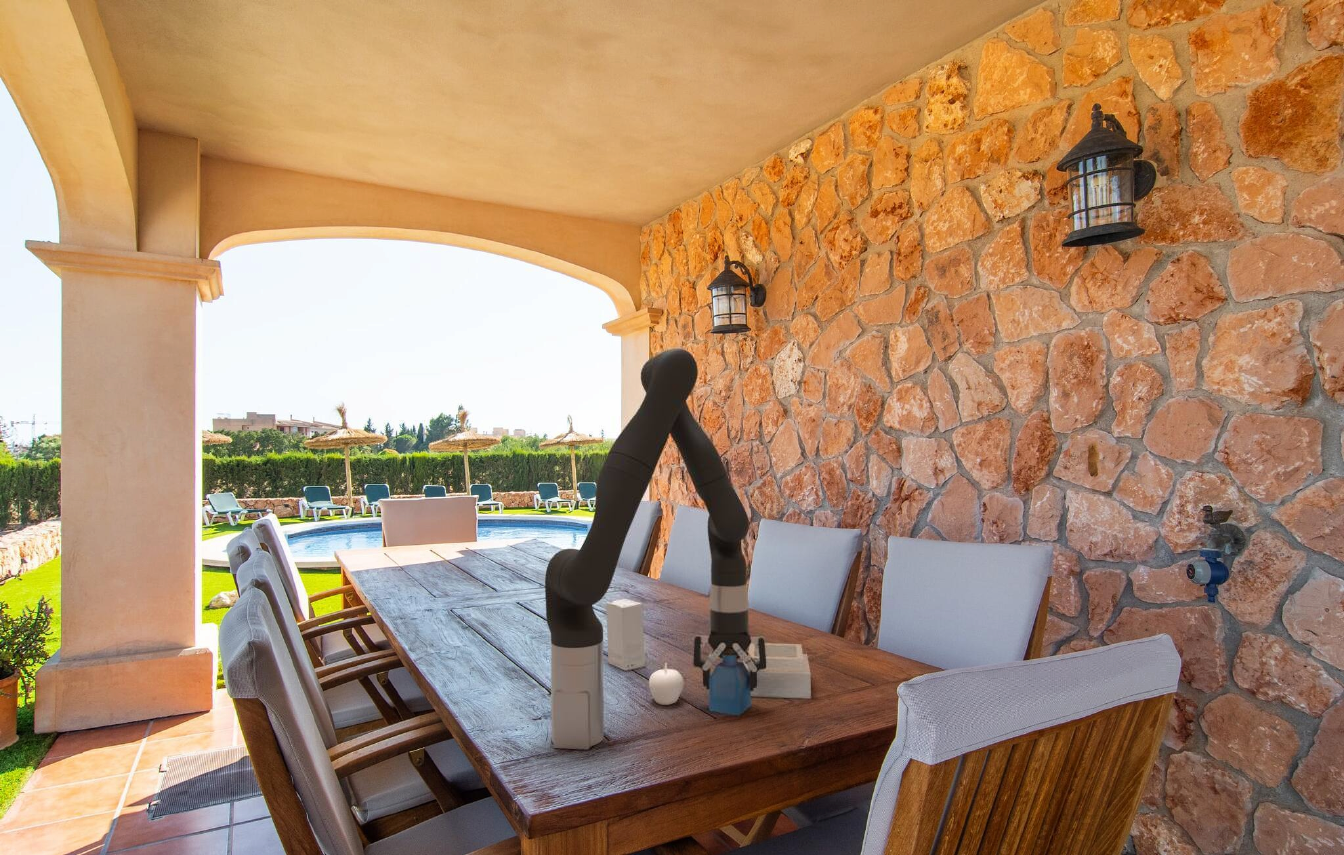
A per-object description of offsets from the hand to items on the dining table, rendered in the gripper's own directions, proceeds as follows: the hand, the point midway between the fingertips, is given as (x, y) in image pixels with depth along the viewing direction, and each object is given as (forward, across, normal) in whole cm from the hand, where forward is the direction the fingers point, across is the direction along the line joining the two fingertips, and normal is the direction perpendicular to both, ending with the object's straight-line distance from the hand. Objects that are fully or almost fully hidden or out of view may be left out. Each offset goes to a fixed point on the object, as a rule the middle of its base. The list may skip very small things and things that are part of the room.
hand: (730, 688), depth 143 cm
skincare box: (+4, -26, +25) cm, 36 cm away
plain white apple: (+4, -13, +2) cm, 14 cm away
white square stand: (+4, +9, +14) cm, 17 cm away
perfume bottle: (+4, 0, 0) cm, 4 cm away
